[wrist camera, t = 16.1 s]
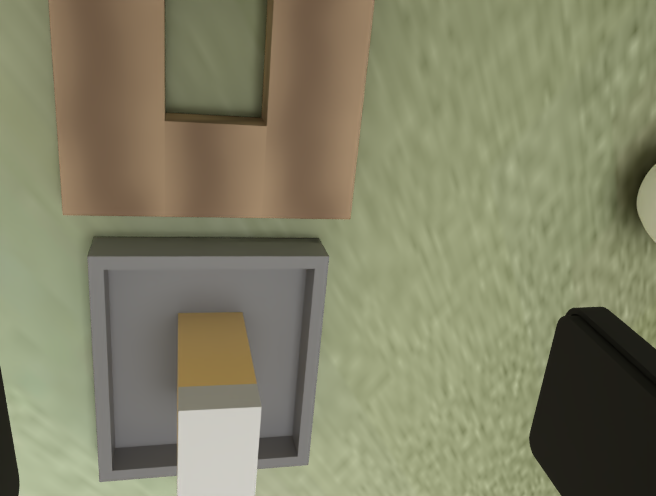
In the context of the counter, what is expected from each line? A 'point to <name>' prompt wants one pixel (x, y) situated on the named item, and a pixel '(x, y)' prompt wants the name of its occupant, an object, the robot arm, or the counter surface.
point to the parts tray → (162, 339)
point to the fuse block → (216, 407)
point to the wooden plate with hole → (208, 116)
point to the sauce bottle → (648, 203)
